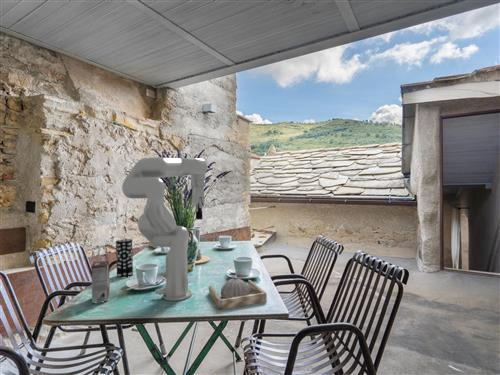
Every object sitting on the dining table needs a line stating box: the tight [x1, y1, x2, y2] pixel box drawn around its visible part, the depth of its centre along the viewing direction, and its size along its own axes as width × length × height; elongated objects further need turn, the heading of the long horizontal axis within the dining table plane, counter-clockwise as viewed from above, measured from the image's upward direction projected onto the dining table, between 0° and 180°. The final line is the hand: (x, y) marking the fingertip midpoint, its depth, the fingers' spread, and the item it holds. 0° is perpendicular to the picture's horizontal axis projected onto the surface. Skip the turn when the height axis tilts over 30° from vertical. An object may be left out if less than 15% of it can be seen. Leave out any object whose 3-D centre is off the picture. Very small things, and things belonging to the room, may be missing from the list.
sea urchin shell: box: [220, 278, 252, 299], centre depth 128 cm, size 13×14×8 cm
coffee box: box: [90, 260, 111, 304], centre depth 129 cm, size 9×6×16 cm
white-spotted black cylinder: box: [115, 238, 134, 278], centre depth 164 cm, size 8×8×20 cm
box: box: [208, 279, 268, 310], centre depth 128 cm, size 20×19×4 cm
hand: (199, 219), depth 153 cm, fingers closed
